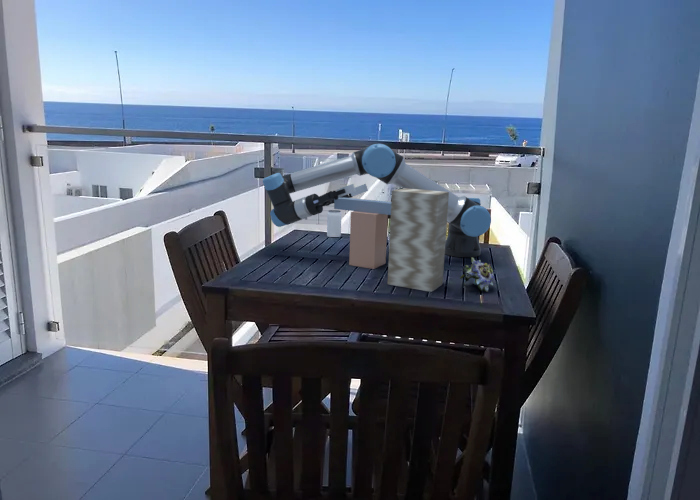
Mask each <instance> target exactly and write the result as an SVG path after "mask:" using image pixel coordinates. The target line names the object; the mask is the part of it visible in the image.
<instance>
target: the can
mask: <svg viewBox="0 0 700 500" xmlns="http://www.w3.org/2000/svg"><path fill="white" fill-rule="evenodd" d="M326 215H327V216H326V218H327V219H326V236H327V237H328V238H330V237H339V238H341V236H342V212H341V210H340V209H329V210H328V212H327V213H326Z"/></svg>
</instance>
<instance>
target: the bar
mask: <svg viewBox="0 0 700 500" xmlns="http://www.w3.org/2000/svg"><path fill="white" fill-rule="evenodd" d="M333 210H339V211H341V210H342V211H349V212H353V211H358V212H368V213H377V214H386V215H388V216H391V201H383V200H373V199H362V198H353V197H352V198H338V199H337V200H335V199H334V203H333Z"/></svg>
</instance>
